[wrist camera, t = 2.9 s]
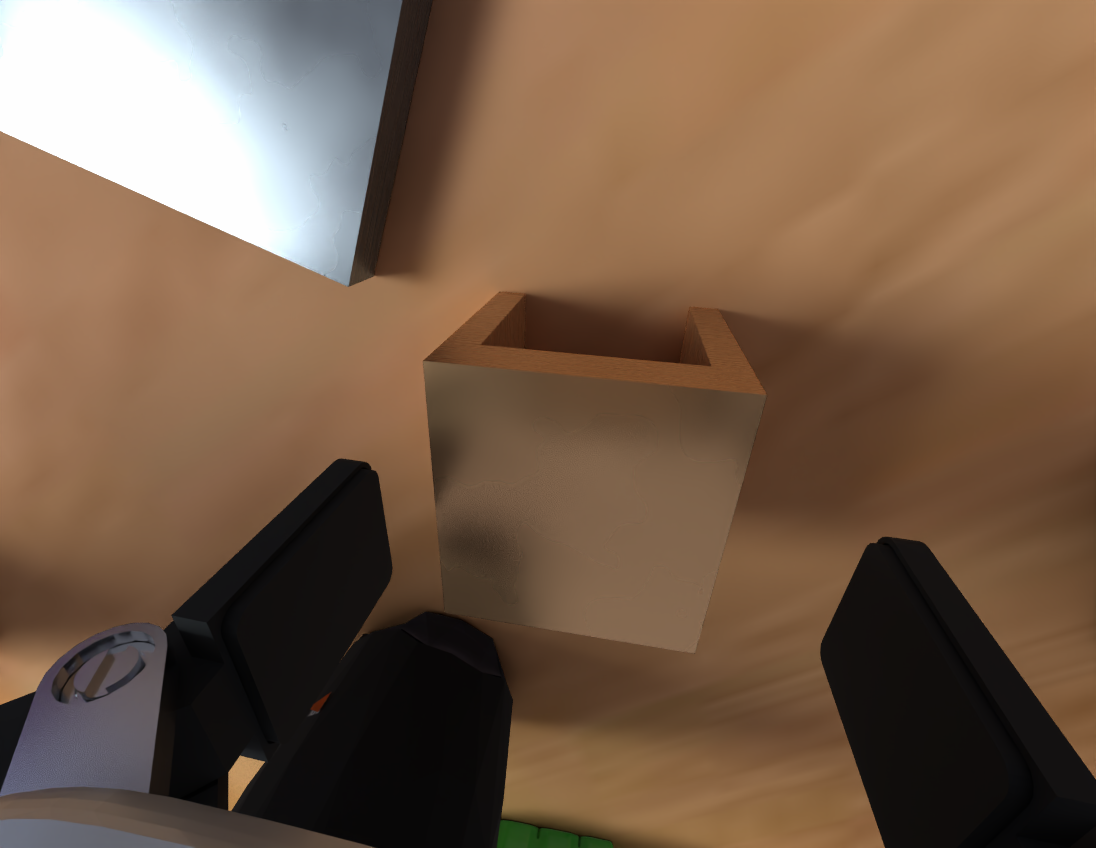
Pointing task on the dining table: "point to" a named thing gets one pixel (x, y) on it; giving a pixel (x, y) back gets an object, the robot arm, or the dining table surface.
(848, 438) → the dining table surface
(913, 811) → the robot arm
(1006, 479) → the dining table surface
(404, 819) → the portable speaker
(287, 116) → the plate
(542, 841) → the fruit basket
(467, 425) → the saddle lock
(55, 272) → the dining table surface
